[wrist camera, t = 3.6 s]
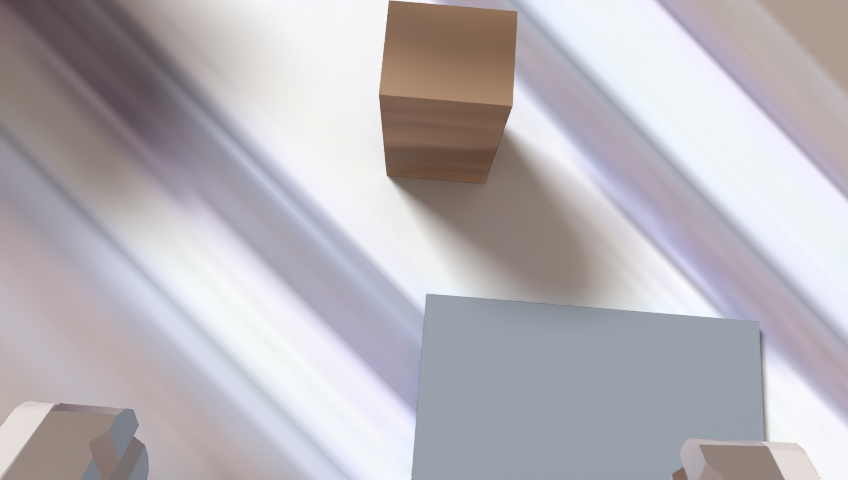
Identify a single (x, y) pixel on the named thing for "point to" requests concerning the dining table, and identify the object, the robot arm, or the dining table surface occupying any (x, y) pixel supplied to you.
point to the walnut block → (445, 89)
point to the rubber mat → (577, 390)
